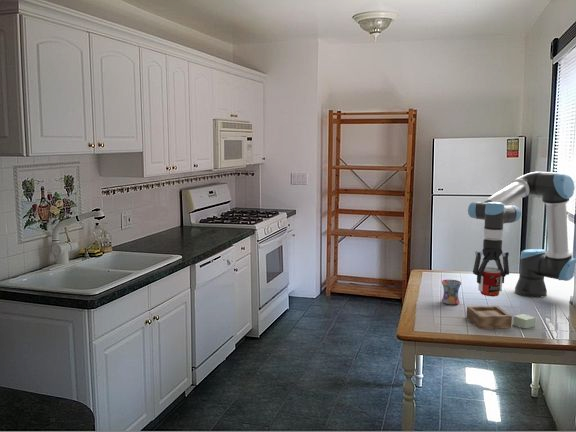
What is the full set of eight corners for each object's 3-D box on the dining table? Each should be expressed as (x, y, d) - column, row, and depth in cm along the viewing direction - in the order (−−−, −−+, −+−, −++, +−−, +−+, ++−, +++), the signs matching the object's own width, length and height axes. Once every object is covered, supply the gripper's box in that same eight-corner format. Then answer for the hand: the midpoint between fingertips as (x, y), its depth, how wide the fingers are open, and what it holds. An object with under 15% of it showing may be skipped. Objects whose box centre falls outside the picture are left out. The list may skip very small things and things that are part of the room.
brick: (522, 322, 239) (523, 313, 239) (534, 326, 234) (535, 317, 234) (513, 324, 237) (514, 315, 236) (525, 329, 231) (525, 320, 231)
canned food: (490, 297, 232) (492, 272, 230) (476, 292, 239) (477, 268, 237) (503, 295, 235) (504, 270, 234) (488, 290, 242) (490, 266, 241)
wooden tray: (497, 317, 246) (497, 306, 245) (511, 327, 232) (511, 316, 231) (466, 317, 245) (467, 306, 245) (478, 328, 232) (479, 316, 231)
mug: (456, 307, 261) (457, 285, 259) (437, 303, 266) (438, 282, 264) (464, 301, 270) (465, 280, 269) (446, 297, 276) (447, 277, 274)
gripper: (512, 236, 238) (509, 288, 241) (466, 237, 237) (463, 288, 240) (520, 240, 230) (517, 292, 233) (472, 240, 229) (469, 293, 232)
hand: (489, 290), depth 237 cm, fingers closed on canned food, 8 cm apart
